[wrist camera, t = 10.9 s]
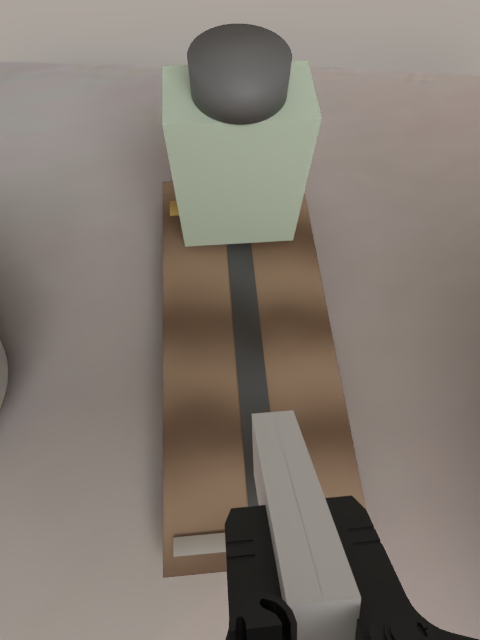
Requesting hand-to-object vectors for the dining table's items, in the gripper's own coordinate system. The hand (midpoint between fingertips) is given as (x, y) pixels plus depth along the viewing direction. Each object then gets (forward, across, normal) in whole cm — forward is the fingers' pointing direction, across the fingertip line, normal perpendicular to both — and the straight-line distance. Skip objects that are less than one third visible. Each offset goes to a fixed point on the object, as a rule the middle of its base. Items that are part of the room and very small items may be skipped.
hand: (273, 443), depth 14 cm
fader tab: (+15, 0, +6) cm, 16 cm away
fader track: (+11, 0, -1) cm, 11 cm away
